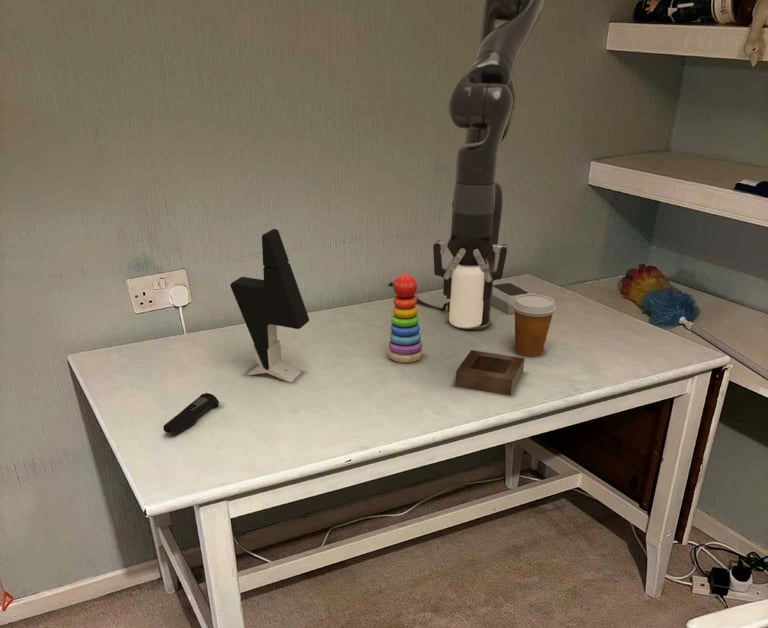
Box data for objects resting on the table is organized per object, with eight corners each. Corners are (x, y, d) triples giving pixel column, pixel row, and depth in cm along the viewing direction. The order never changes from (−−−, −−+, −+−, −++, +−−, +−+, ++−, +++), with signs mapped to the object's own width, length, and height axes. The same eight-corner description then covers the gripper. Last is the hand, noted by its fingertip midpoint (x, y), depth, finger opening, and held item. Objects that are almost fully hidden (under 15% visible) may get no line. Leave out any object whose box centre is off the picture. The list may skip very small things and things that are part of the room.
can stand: (454, 386, 163) (456, 370, 161) (469, 364, 172) (471, 349, 170) (510, 395, 159) (512, 380, 157) (523, 373, 169) (524, 358, 167)
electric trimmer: (159, 437, 143) (156, 422, 141) (205, 402, 155) (203, 387, 153) (176, 441, 142) (173, 426, 140) (221, 405, 154) (219, 391, 152)
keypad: (508, 277, 211) (540, 294, 200) (507, 291, 213) (538, 308, 202) (478, 282, 208) (509, 299, 197) (477, 295, 210) (508, 313, 199)
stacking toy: (408, 347, 179) (410, 266, 169) (429, 359, 174) (433, 276, 164) (380, 355, 176) (381, 273, 165) (401, 367, 170) (404, 283, 160)
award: (312, 374, 167) (306, 231, 150) (302, 384, 162) (295, 238, 145) (249, 364, 170) (236, 223, 154) (238, 373, 166) (223, 230, 149)
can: (480, 330, 148) (485, 267, 142) (446, 327, 149) (450, 265, 143) (483, 318, 154) (488, 257, 147) (450, 316, 155) (454, 255, 148)
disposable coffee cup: (553, 347, 181) (561, 297, 174) (543, 362, 173) (550, 310, 167) (514, 340, 184) (520, 291, 177) (502, 354, 177) (508, 303, 170)
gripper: (513, 205, 142) (504, 295, 151) (436, 201, 143) (431, 290, 153) (512, 215, 135) (503, 308, 145) (431, 210, 137) (427, 302, 147)
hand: (466, 298), depth 149 cm, fingers closed on can, 6 cm apart
